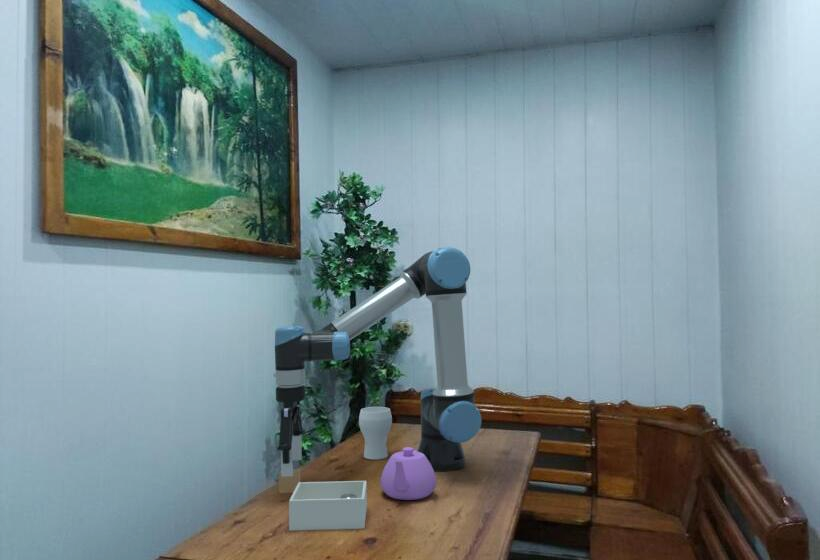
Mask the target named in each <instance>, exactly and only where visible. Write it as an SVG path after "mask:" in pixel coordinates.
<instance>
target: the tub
mask: <svg viewBox="0 0 820 560" xmlns="http://www.w3.org/2000/svg"><path fill="white" fill-rule="evenodd" d="M367 483H368V482H367V480H348V481H347V480H345V481H341V480H340V481H339V480H338V481H306V482H305V481H303V482H302V481H301V482H299V483H298V485H297V487H296V488H295V490H294V492H293V493H291V494H292V495H291V496H290V498H289V502H288V529H289V531H290V532H292V531H293V532H294V531H321V530H323V531H325V530H328V531H329V530H359V529H363V530H364V529H365V525H366V518H367V517H366V515H367V507H368V505H367V502H368V501H367V493H368V490H367V488H368V487H367ZM344 494H354V495H356V498H340V497H341V496H342V495H344Z"/></svg>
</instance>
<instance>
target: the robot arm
mask: <svg viewBox="0 0 820 560" xmlns="http://www.w3.org/2000/svg"><path fill="white" fill-rule="evenodd" d="M470 275H471V264H470V261H469V259H468V257H467V255H465V253H463V252H462V251H461V250H459V249H457V248H455V247H452V246H449V247H446V246H444V247H439V248H436V249H435V250H432V251H429V252H427V253H424V254H423V255H422V256H421V257H419V258H418V259H417V260H416V261H415V262H414V263H412V264H411V265H410V266H409V267H407V268H406V269H404V270H402V271H401V272H400V276H399V277H398V278H396V279H395V280H393V281H392V282H390V283H388V285H386V286H384V287H383V288H382V289H380V290H378V291H377V292H375V293H374V294H372V295H371V296H369V297H368V298H366V299H364V300H363V301H362V302H360V303H358V304H357V305H356V306H354V307H352V308H351V309H350V310H347V312H345V313H343V314H342V315H340V316H338V317H337V318H335V319H334V320H332V321H331V322H330V323H329V324H327V325H325V326H323V327H322V328H321V329H317V330H315V331H314V332H313V333H309V332H306V331H305V330H304V329H305V328H304V327H303V326H300V325H298V326H297V325H294V326H291V325H290V326H279V327H277V328H276V329H275V330H274V360H275V361H274V363H275V364H274V365H275V373H274V372H273V375H272V376H273V377H275V385H276V387H275V400H276V402H278V403H283V408H281V409H280V428H279V441H278V442H279V443H278V446H277V447H276V448H277V449H276V451H280V470H281V477H285V476H293V469H294V467H293V466H294V465H293V461H302V460H303V459H302V458H303V457H302V456H303V453H302V452H303V451H302V446H303V445H302V435H303V436H304V434H305V430H304V429H303V422H302V413H301V402H302V401H304V400H305V399H306V386H305V385H304V384H305V383H306V368H305V362H307V363H309V362H310V363H311V362H321V361H324V362H325V361H327V362H328V361H336V362H337V361H340V360H347V359H348V358H349V357H350V354H351V353H350V352H351V342H350V341H351V340H352V339H354V338H356V337H357V336H359V335H360V334H361V333H364V332H366V330H368V329H370V328H371V327H373V326H374V325H375V324H377V323H378V322H380V321H381V320H383V319H385V317H388V316H389V315H391V314H392V313H393V312H394V311H396V310H398V309H399V308H401V307H402V306H404V305H405V304H407V303H409V302H410V301H411V300H412V299H420V298H421V297H423V296H425V298H427V300H429V301H430V303H431V311H432V313H431V315H432V324H433V325H432V326H433V327H432V328H433V337H434V338H433V340H434V341H433V342H434V355H435V356H434V357H435V369H436V382H437V387H436V388H435V387H432V388H425V389H424V388H423V389H422V390H421V393H420V398H419V401H420V432H421V433H420V438H421V439H420V442H419V445H418V448H417V451H418V452H421V453H423V454H424V455H425V456H426V458H427V459H428V461H429V462H430V464H431V466H432V468H433V470H434V472H448V471H456V470H459V469H462V468H463V467H465V465H466V455H465V451H464V449H463V446H462V443H467V442H468V441H470V440H472V439H473V438H474V437H475V436H476V435H477V434H479V431H480V429H481V425H482V415H481V412H480V410H479V408H478V406H476V405H475V390H474V389H473V388H472V387H471V386H470V385H469V383H468V371H467V370H468V369H467V368H468V367H467V355H466V353H467V352H466V342H465V341H466V340H465V339H466V338H465V328H464V327H465V326H464V315H463V299H464V298H465V297H466V295H467V292H468V291H467V281H468V280H469V278H470Z"/></svg>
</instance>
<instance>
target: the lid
mask: <svg viewBox="0 0 820 560" xmlns="http://www.w3.org/2000/svg"><path fill="white" fill-rule="evenodd" d="M301 470H302V469H301V468H293V476H285V477H281V469H280V470H279V472H278V493H279V494H293V492H294V490H295V488H296V487H297V485H298V483H299V482H302V481H301V478H302V475H301V473H302V472H301Z"/></svg>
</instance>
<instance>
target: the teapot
mask: <svg viewBox="0 0 820 560" xmlns="http://www.w3.org/2000/svg"><path fill="white" fill-rule="evenodd" d="M380 487H381V490H382V491H383V492H384V493H385V494H386V496H388V497H390V498H391V499H395V500H400V501H401V500H402V501H414V500H422V499H425V498H426V497H429V496H430V495H431V494H432V493H433V492H434V490H435V489H436V487H437V477H436V473H435V471H434V470H433V468H432V466H431V464H430V462H429V461H428V459H427V458H426V456H425V455H424V454H423V453H421V452H418V449H415V448H413V447H410V446H408V447H407V446H405V447H403V448H402V450H401V451H397V452H395V453H393V454H392V455H391V456H390V457H389V459H388V461H387V462H386V464H385V466H384V468H383V471H382V474H381V478H380Z"/></svg>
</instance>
